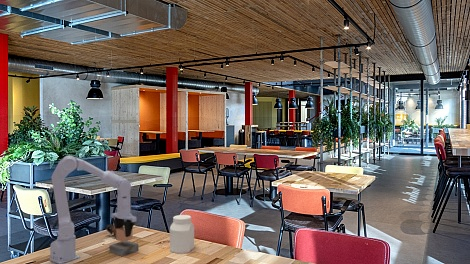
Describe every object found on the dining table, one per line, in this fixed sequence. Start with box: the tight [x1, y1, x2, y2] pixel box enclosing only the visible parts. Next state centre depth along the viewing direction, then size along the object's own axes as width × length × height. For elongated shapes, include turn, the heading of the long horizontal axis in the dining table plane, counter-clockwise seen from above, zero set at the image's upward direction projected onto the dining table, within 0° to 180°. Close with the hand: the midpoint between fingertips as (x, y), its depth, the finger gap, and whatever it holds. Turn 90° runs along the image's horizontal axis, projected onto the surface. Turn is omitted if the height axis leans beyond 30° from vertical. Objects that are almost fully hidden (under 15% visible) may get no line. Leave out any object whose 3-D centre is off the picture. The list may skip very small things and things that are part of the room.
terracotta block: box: [115, 226, 133, 242], centre depth 167 cm, size 5×5×5 cm
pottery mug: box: [105, 224, 124, 239], centre depth 190 cm, size 12×10×8 cm
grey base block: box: [108, 240, 139, 257], centre depth 167 cm, size 9×9×4 cm
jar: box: [169, 214, 195, 254], centre depth 170 cm, size 12×10×15 cm
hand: (124, 235), depth 167 cm, fingers closed on terracotta block, 5 cm apart
